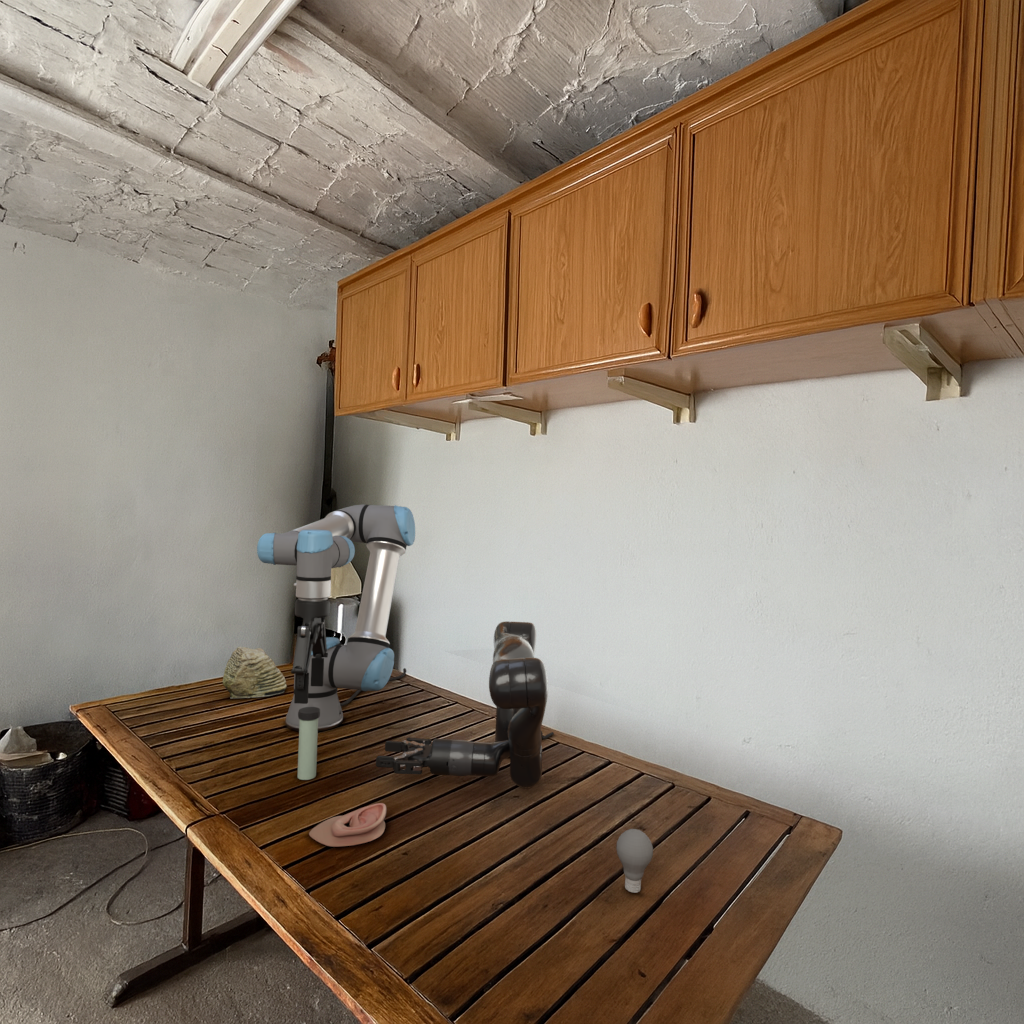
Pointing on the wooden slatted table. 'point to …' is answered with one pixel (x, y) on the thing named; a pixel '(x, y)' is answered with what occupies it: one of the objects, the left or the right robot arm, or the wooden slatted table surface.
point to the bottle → (307, 749)
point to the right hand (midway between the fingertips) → (380, 753)
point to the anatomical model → (352, 827)
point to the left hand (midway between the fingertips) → (309, 694)
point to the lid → (309, 713)
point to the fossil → (252, 674)
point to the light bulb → (634, 857)
